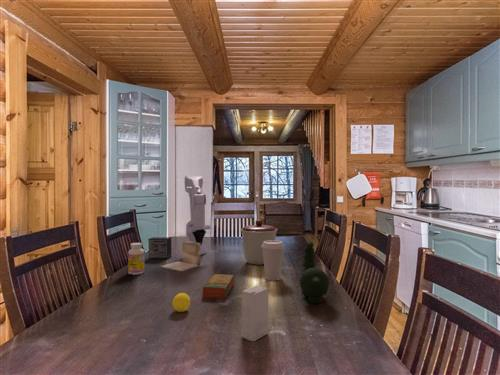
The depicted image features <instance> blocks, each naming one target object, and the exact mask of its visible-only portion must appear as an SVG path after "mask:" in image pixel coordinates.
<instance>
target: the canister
mask: <svg viewBox="0 0 500 375" xmlns="http://www.w3.org/2000/svg"><path fill="white" fill-rule="evenodd" d="M240 232H241V235H242V246H243V253H244V259H245V261H246V263H248V264H250V265H254V264H255V266H256V265H257V266H262V265H263V264H264V260H263V249H262V248H261V246H262V244H263V242H264V241H269V240H276V239H277V238H276V236H277V232H278V228H276V227H275V226H274V225H269V224H263V220H262V219H257V220H255V224H249V225H244V226H243V227H242V228H240ZM263 266H264V265H263Z"/></svg>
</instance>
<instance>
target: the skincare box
mask: <svg viewBox="0 0 500 375" xmlns="http://www.w3.org/2000/svg"><path fill="white" fill-rule="evenodd" d="M268 333H269V288H268V287H264V286H260V285H254V286H251V287H249V288H247V289H244V290H242V291H241V337H242V338H244V339H245V340H248V341H250V342H256V341H257V340H259V339H260V338H262V337H264V336H266V335H267V334H268Z"/></svg>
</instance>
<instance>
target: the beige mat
mask: <svg viewBox="0 0 500 375" xmlns="http://www.w3.org/2000/svg"><path fill="white" fill-rule="evenodd" d="M198 266H199V264H197V265H196V264H190V263H185V262H183V261H178V260H177V261H175V262H171V263H166V264H164V265H160V268H163V269H168V270H174V271H177V272H184V271H187V270H190V269H193V268H196V267H198Z"/></svg>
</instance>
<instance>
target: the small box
mask: <svg viewBox="0 0 500 375" xmlns="http://www.w3.org/2000/svg"><path fill="white" fill-rule="evenodd" d="M147 240H148V259H149V260H155V259H156V260H169V259H170V258H172V254H173V253H172V237H171V236H170V237H169V236H168V237H166V236H165V237H162V236H161V237H160V236H157V237H155V236H153V237H150V238H148V239H147Z"/></svg>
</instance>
